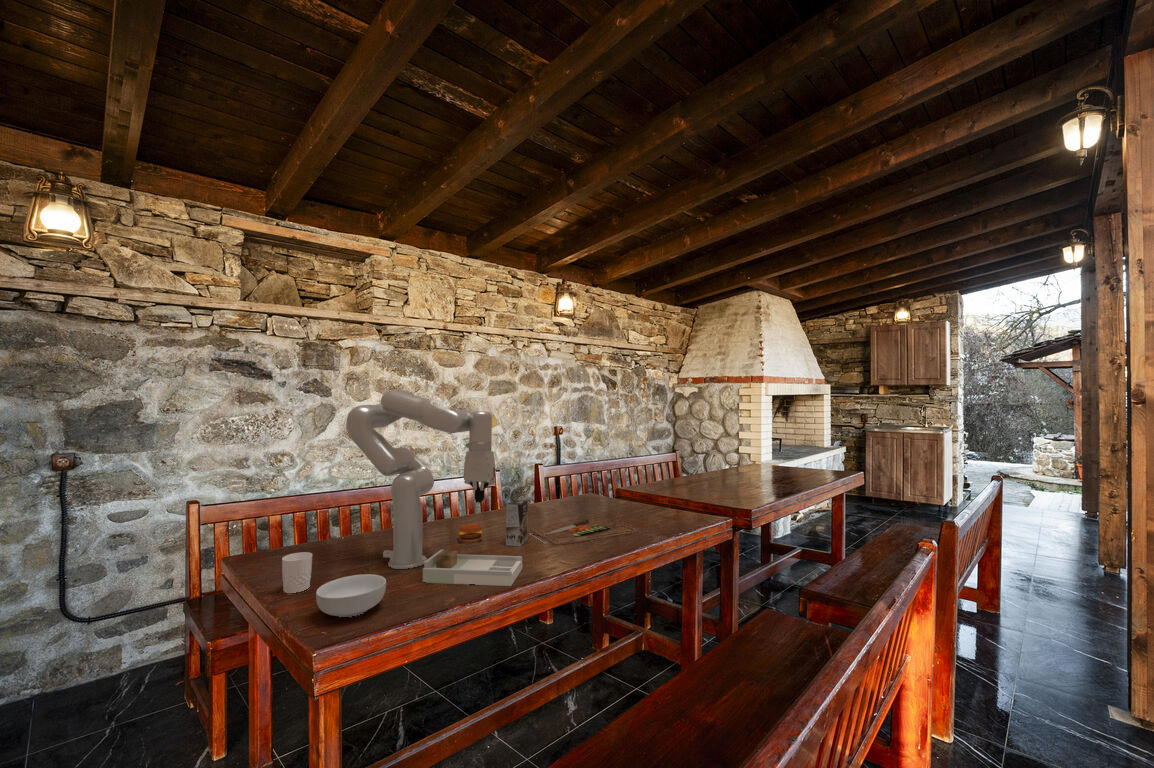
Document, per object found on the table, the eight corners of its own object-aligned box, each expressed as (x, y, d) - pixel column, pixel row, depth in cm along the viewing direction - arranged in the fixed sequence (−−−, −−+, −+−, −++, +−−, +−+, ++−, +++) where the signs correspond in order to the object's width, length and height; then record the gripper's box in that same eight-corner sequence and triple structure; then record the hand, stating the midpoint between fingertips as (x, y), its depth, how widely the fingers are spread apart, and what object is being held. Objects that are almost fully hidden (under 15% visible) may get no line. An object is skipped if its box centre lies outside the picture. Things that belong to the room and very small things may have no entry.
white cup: (289, 597, 136) (290, 562, 137) (275, 591, 140) (276, 557, 141) (317, 588, 143) (317, 554, 143) (303, 583, 147) (303, 550, 147)
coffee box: (521, 546, 184) (521, 504, 185) (505, 545, 185) (505, 504, 186) (528, 540, 193) (528, 500, 193) (513, 539, 194) (513, 499, 195)
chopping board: (550, 549, 182) (550, 540, 183) (524, 532, 206) (524, 525, 206) (645, 533, 204) (644, 526, 204) (611, 520, 228) (611, 513, 228)
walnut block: (436, 567, 152) (436, 555, 152) (442, 562, 157) (442, 550, 157) (451, 568, 151) (451, 555, 151) (457, 563, 156) (457, 550, 156)
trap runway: (422, 582, 147) (422, 563, 147) (441, 566, 162) (442, 548, 162) (510, 586, 144) (510, 566, 144) (522, 569, 159) (522, 550, 159)
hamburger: (459, 544, 187) (459, 527, 188) (458, 538, 196) (458, 522, 197) (483, 542, 190) (483, 525, 190) (481, 536, 199) (481, 520, 200)
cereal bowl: (372, 593, 139) (373, 569, 139) (395, 611, 127) (396, 584, 127) (307, 611, 127) (308, 584, 127) (326, 632, 115) (326, 603, 115)
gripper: (455, 447, 159) (454, 503, 159) (497, 448, 157) (496, 504, 156) (464, 446, 167) (463, 498, 166) (504, 446, 164) (504, 500, 164)
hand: (479, 501), depth 161 cm, fingers closed
